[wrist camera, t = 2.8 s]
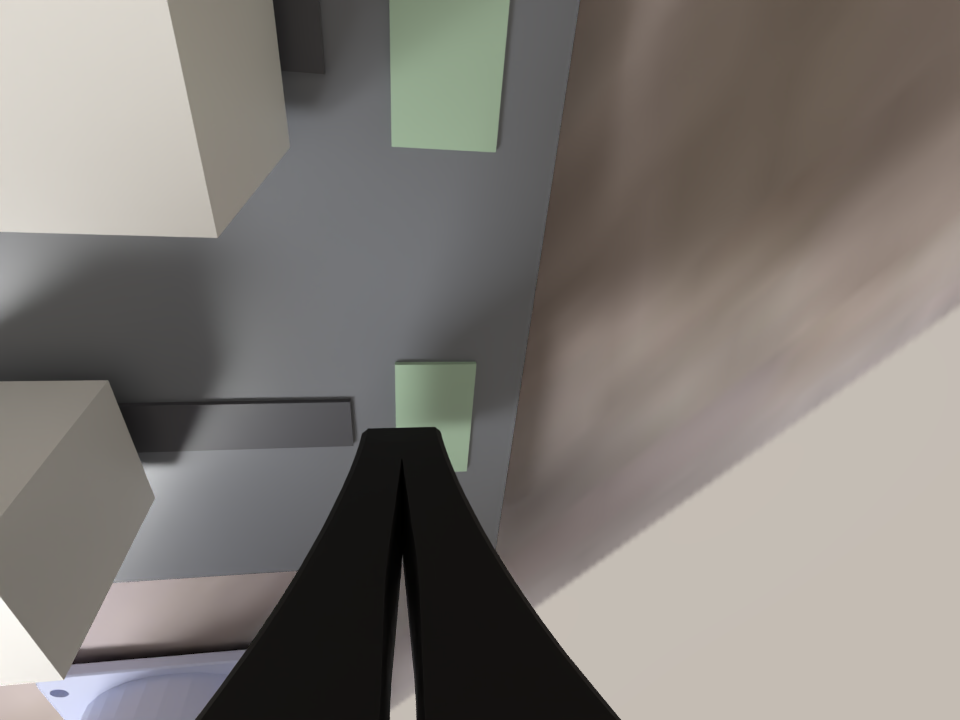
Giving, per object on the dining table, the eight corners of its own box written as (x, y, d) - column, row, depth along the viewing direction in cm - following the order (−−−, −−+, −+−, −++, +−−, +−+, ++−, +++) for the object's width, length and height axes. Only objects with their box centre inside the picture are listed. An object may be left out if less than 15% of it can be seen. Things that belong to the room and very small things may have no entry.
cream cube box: (289, 147, 7) (217, 238, 4) (51, 134, 7) (-206, 226, 4) (255, -147, 6) (99, -316, 3) (-64, -189, 5) (-669, -452, 2)
